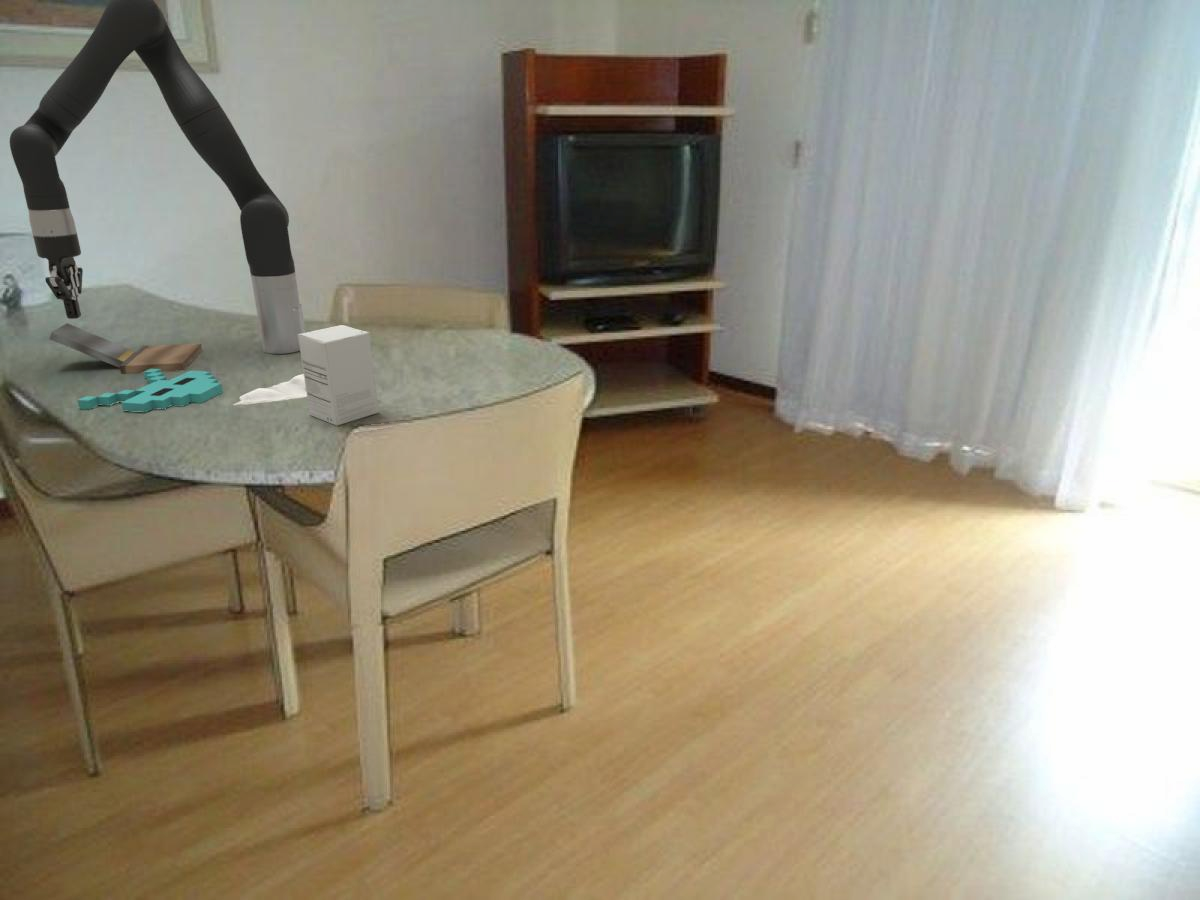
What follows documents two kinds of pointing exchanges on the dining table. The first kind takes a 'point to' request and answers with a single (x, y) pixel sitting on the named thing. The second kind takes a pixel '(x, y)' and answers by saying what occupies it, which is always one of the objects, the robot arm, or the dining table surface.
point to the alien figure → (161, 392)
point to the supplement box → (338, 374)
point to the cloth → (276, 392)
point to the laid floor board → (161, 358)
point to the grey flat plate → (91, 344)
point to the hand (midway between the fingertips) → (74, 317)
